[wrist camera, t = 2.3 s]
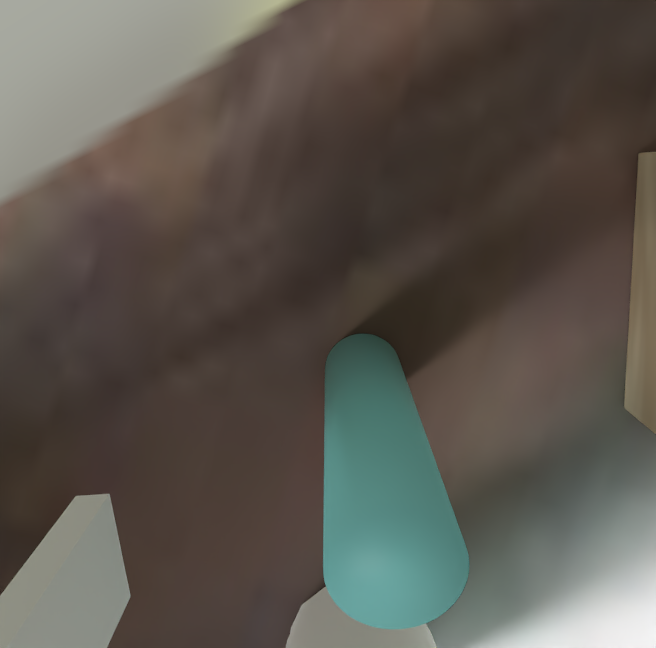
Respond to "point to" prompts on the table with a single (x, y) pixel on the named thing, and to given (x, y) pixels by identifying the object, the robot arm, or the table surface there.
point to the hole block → (643, 300)
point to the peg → (384, 496)
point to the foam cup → (348, 629)
